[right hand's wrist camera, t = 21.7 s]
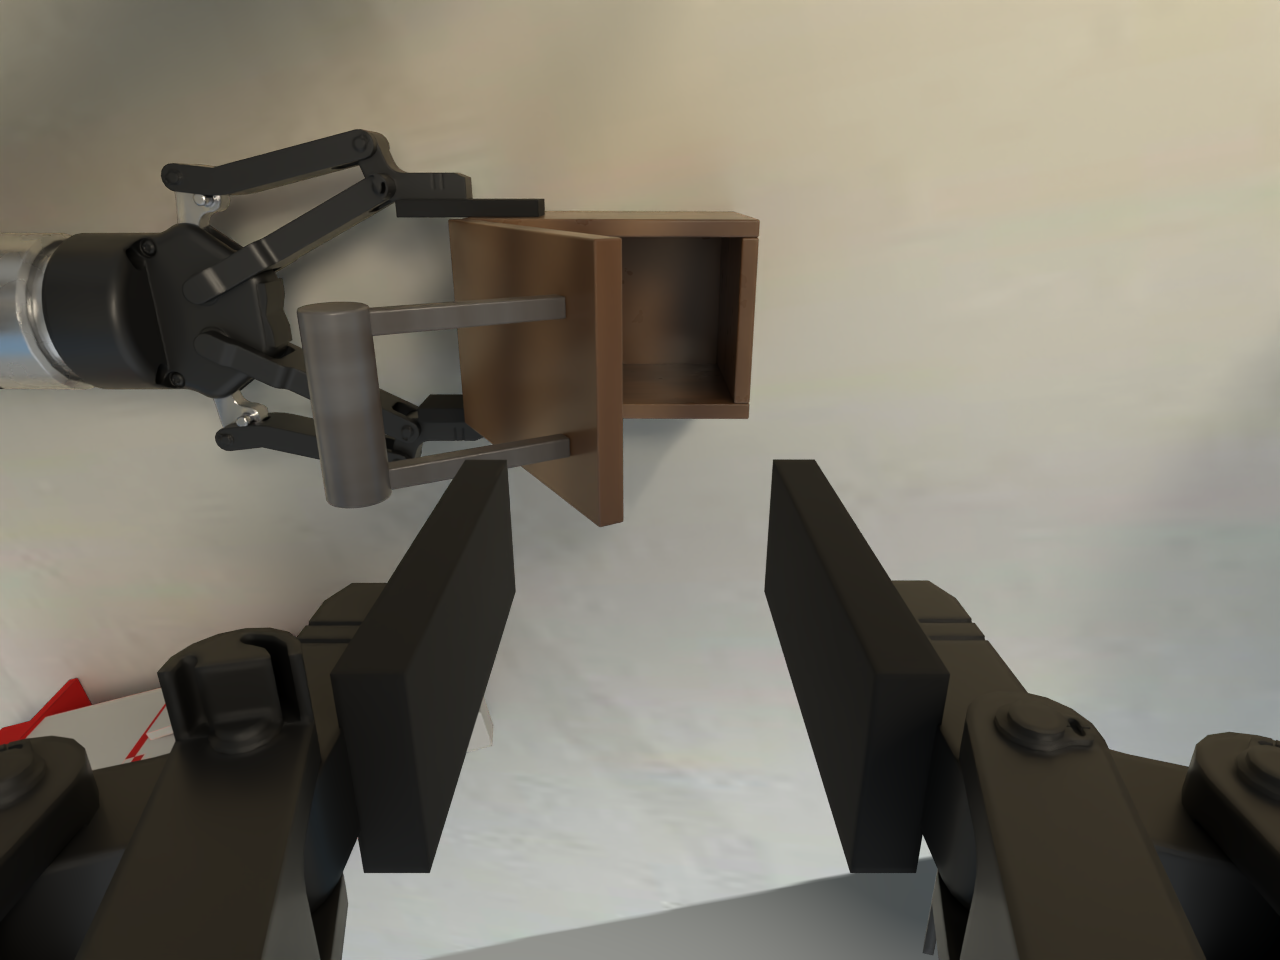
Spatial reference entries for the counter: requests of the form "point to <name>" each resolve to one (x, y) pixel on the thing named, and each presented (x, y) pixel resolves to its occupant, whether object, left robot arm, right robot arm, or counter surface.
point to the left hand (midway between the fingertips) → (545, 312)
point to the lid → (489, 369)
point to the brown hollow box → (679, 306)
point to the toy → (135, 726)
